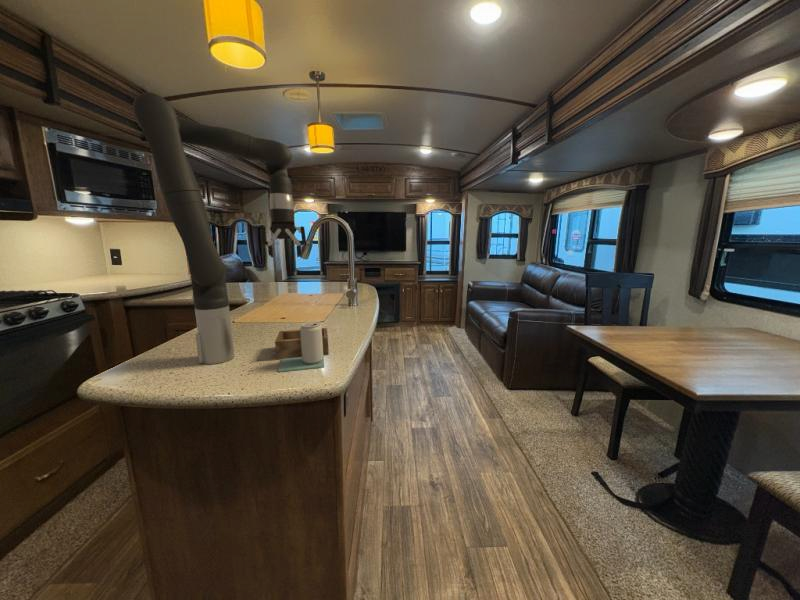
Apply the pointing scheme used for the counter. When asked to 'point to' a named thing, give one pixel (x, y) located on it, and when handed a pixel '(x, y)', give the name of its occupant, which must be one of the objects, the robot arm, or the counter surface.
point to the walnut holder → (295, 344)
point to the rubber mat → (298, 364)
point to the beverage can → (311, 342)
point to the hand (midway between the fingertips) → (285, 257)
